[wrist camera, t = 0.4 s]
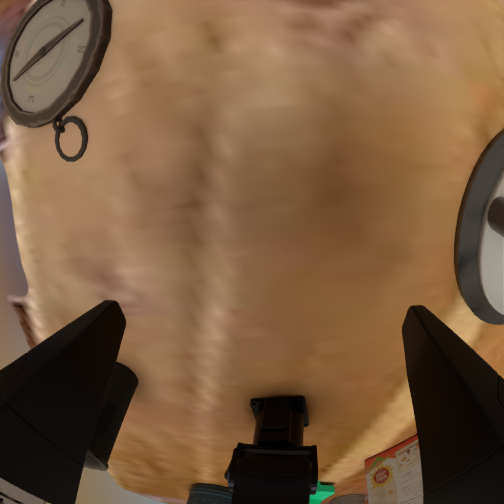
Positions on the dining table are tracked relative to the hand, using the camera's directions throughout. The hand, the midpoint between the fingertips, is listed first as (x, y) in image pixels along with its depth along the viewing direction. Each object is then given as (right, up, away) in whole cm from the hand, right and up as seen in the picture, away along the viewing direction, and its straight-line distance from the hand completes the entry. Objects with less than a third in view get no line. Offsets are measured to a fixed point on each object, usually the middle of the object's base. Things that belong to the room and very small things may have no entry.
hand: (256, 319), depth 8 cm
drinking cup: (-17, -14, +25) cm, 34 cm away
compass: (-21, +21, +11) cm, 31 cm away
